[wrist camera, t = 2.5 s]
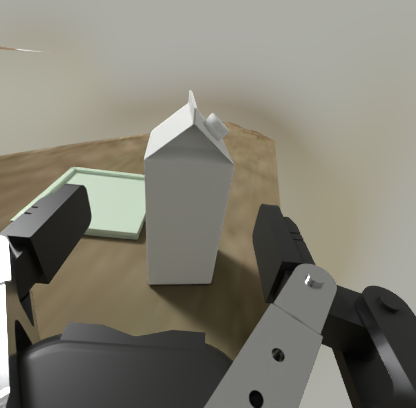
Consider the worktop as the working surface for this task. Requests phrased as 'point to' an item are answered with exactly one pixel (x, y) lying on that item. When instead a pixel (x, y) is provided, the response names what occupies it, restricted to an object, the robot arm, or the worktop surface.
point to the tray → (107, 201)
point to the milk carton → (185, 196)
